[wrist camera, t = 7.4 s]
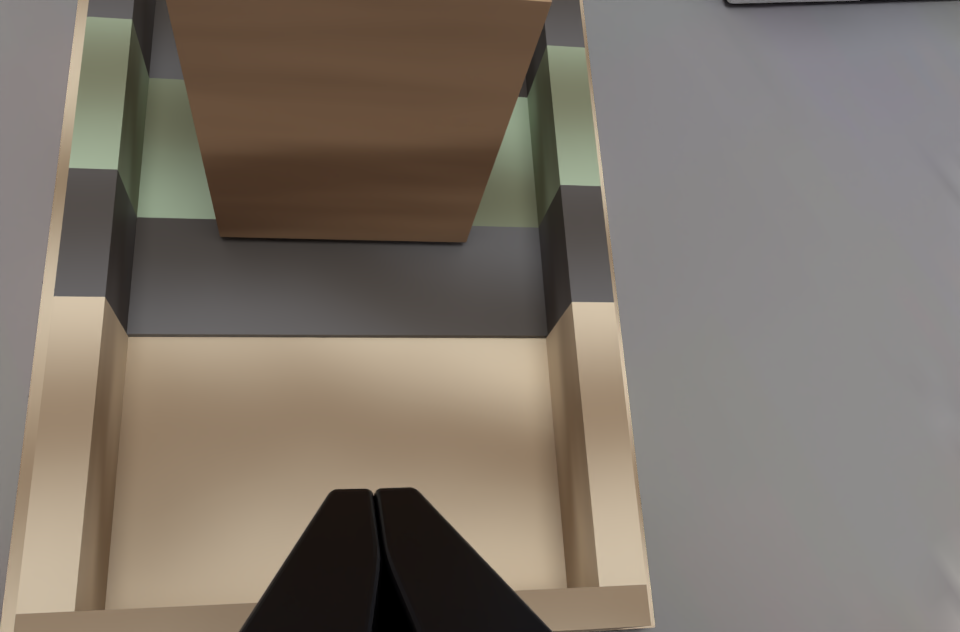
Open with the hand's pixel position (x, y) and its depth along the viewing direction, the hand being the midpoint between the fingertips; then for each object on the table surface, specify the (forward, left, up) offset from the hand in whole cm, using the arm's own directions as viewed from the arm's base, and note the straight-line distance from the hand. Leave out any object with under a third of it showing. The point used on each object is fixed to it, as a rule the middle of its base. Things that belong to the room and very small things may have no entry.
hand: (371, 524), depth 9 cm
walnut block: (+11, 0, -11) cm, 16 cm away
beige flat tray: (+10, 0, -13) cm, 16 cm away
